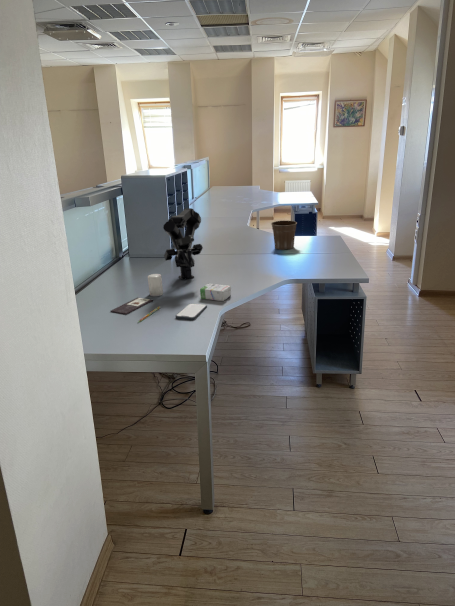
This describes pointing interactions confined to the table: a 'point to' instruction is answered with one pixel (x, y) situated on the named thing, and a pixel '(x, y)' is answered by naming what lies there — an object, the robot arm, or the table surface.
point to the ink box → (215, 292)
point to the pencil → (149, 314)
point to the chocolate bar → (131, 306)
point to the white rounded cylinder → (155, 284)
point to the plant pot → (284, 234)
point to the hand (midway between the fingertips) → (190, 266)
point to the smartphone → (191, 311)
